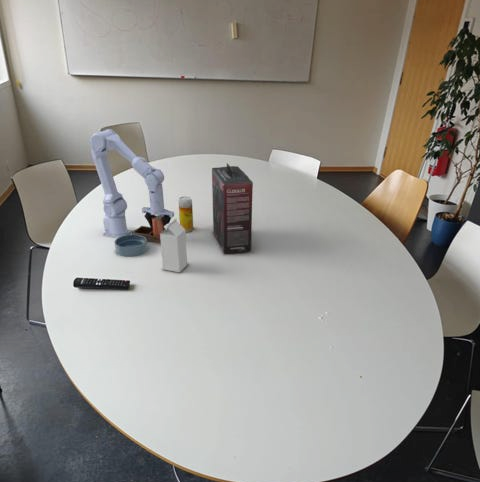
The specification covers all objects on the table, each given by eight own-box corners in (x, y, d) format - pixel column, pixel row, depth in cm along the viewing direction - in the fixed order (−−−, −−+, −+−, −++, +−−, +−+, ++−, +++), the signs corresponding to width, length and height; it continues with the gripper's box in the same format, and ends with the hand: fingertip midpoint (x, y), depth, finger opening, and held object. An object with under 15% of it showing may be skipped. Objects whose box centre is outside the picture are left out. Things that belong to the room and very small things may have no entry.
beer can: (191, 232, 198) (189, 201, 190) (178, 231, 199) (176, 200, 191) (195, 227, 203) (193, 196, 195) (182, 226, 204) (180, 195, 196)
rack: (132, 239, 191) (131, 232, 189) (142, 232, 197) (141, 225, 196) (164, 245, 186) (163, 238, 184) (173, 238, 193) (172, 231, 191)
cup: (150, 236, 188) (148, 218, 183) (157, 231, 192) (155, 214, 188) (162, 238, 186) (160, 220, 182) (169, 233, 191) (167, 216, 186)
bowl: (109, 254, 179) (108, 244, 176) (127, 242, 189) (126, 232, 186) (136, 259, 175) (135, 249, 172) (153, 247, 185) (152, 237, 182)
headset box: (212, 231, 199) (210, 158, 182) (238, 229, 202) (239, 156, 184) (223, 254, 179) (222, 174, 161) (252, 252, 182) (254, 173, 164)
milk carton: (187, 264, 172) (184, 219, 161) (179, 272, 166) (176, 226, 156) (171, 262, 173) (167, 217, 163) (163, 269, 168) (158, 223, 158)
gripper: (136, 200, 180) (140, 231, 187) (167, 205, 175) (169, 236, 183) (145, 195, 185) (148, 225, 193) (175, 200, 181) (177, 230, 188)
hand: (159, 230), depth 188 cm, fingers closed on cup, 6 cm apart
